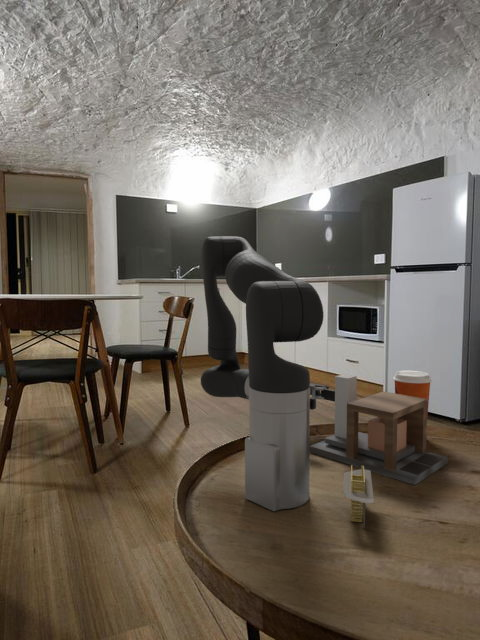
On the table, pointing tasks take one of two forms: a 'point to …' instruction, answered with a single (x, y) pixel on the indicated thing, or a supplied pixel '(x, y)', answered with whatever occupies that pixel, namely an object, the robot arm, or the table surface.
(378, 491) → the table surface
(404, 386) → the paper cup
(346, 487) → the yellow ladder
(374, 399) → the tunnel
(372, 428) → the sled
